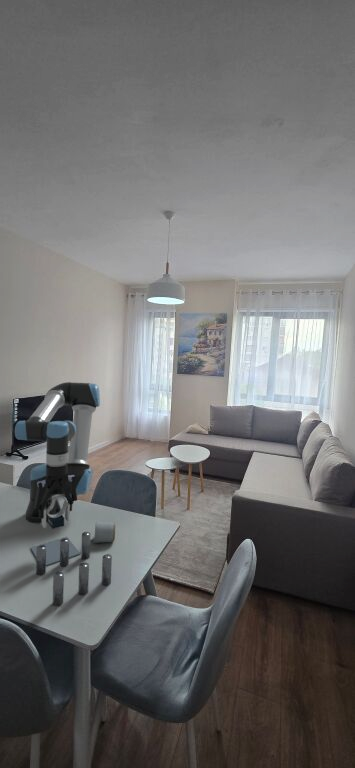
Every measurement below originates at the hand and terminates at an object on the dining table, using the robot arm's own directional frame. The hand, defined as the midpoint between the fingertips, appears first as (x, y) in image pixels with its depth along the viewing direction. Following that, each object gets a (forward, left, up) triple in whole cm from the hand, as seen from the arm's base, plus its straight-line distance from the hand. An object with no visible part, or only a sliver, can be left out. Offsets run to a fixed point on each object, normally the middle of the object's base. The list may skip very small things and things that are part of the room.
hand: (55, 522), depth 126 cm
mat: (0, 0, -12) cm, 12 cm away
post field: (+18, 0, -12) cm, 21 cm away
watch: (0, 0, -1) cm, 1 cm away
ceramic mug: (+2, +19, -12) cm, 23 cm away
